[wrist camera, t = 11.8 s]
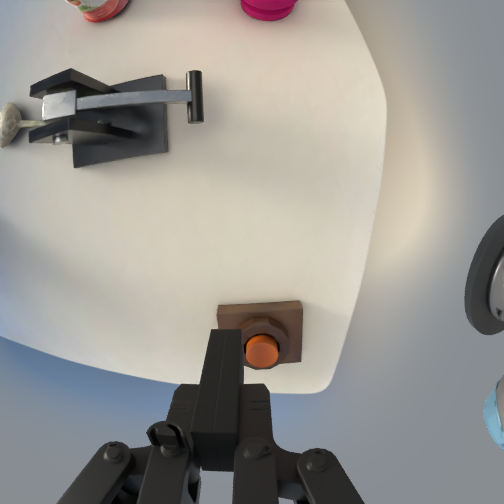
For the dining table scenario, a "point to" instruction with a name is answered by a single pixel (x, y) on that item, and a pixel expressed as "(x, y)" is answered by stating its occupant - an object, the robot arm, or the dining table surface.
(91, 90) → the lever bracket
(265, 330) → the button box
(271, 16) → the pepper mill
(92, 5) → the liquor
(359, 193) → the dining table surface
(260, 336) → the button
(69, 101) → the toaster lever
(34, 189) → the dining table surface
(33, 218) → the dining table surface
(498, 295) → the robot arm
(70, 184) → the dining table surface
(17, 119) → the soupspoon
